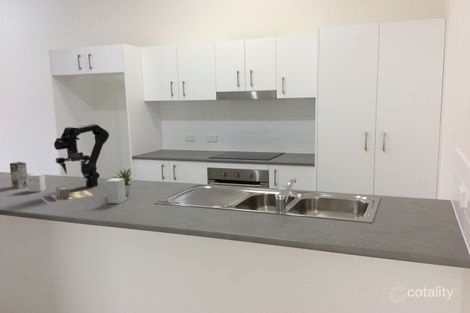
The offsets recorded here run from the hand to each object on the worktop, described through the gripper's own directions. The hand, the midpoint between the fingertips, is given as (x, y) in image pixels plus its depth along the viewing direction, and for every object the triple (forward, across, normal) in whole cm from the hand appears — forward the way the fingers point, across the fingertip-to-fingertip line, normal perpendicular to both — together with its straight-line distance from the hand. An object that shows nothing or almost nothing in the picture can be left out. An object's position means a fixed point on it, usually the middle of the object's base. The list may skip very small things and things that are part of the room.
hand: (74, 173), depth 238 cm
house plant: (+12, +22, -26) cm, 36 cm away
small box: (+12, -18, +20) cm, 30 cm away
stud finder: (+11, -10, -12) cm, 19 cm away
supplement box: (+12, +12, -39) cm, 43 cm away
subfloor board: (+12, -5, -12) cm, 18 cm away
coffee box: (+12, -25, +40) cm, 49 cm away
